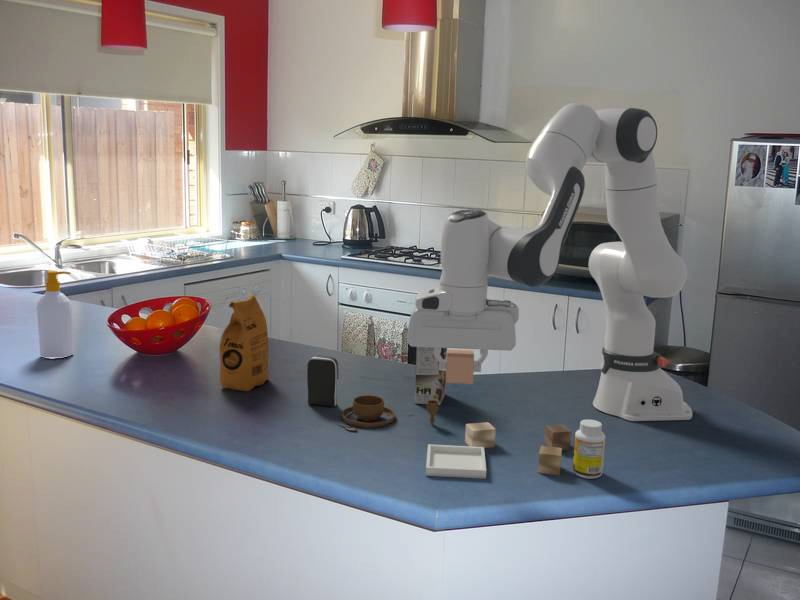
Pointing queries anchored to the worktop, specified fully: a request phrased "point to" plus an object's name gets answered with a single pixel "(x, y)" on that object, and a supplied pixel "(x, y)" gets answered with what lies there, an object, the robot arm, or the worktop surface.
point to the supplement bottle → (589, 450)
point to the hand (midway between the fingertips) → (459, 370)
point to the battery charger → (322, 381)
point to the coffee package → (244, 347)
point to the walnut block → (558, 436)
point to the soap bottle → (55, 320)
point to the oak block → (550, 460)
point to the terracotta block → (460, 366)
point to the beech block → (480, 435)
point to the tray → (456, 461)
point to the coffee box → (429, 376)
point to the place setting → (377, 411)
